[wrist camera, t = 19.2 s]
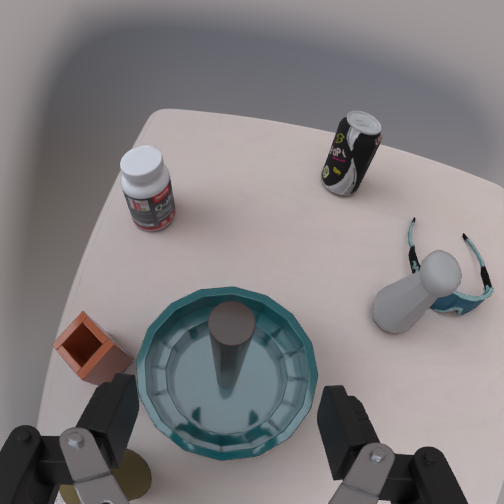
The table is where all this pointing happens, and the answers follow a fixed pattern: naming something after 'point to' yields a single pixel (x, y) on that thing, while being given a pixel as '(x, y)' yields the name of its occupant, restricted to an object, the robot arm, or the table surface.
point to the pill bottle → (147, 188)
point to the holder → (91, 351)
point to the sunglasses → (456, 299)
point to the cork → (120, 479)
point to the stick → (230, 339)
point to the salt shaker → (416, 292)
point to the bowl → (205, 381)
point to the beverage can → (351, 152)
